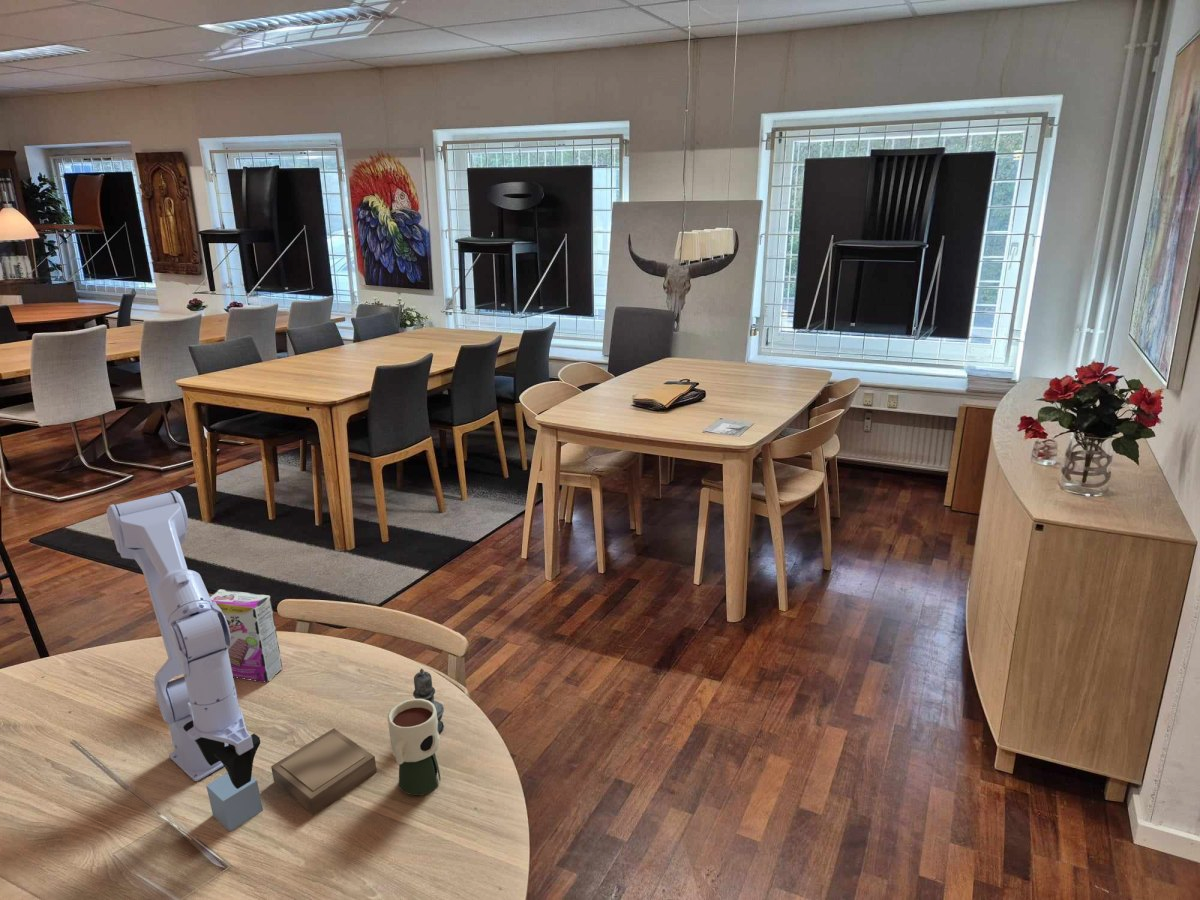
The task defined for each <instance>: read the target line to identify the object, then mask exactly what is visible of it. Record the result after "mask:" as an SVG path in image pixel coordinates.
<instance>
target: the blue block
mask: <svg viewBox="0 0 1200 900" xmlns="http://www.w3.org/2000/svg"><path fill="white" fill-rule="evenodd" d="M205 787H206V791H207V795H208V799H209V804H210V809H211V813H212V816H213V817H214V818H215V819H216V820H217V821H218V822H219V823H220V824H221V825H222V826H223V827H224V828H225V829H226V830H227V831H228V832H232V831H234V830H235V829H236V828H238V827H240V826H241V825H242V824H244V823H246V822H247V821H249V820H250V819H252V818H254V817H255V816H257V815H258V814H259V813H261V812H262V811H264V808H263V803H262V799H261V793H260V789H259V788H260V787H259V784H258V780H257V779H256V778H255V777H254V776H253V775H252V776H251V781H250V782H248V783H247V784H245V785H244V786H242V787H240V788H239V789H237V788H235V787H234V785H233V784H232V782H231V780H230V777H229V775H228V772H227V773H225V774H224V775H222V776H220V777H217V779H215V780H213V781H211V782H209V783H208V784H207V785H205Z"/></svg>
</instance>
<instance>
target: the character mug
mask: <svg viewBox="0 0 1200 900" xmlns="http://www.w3.org/2000/svg"><path fill="white" fill-rule="evenodd" d="M387 722H388V732H389V738H390V739H389V740H390V746H391V748H390V749H391V753H392V755H393V757H395V761H396V764H397V765H399V766H398V788H399V789H400V790H401V791H402V792H404V793H406V794H408V795H411V796H413V795H414V796H423V795H425V794H429V793H431V792H432V791H433V790H435V789H436V788H437V786H438V782H437V777H438V779H439V782H441V771H440V767H439V763H438V760H437V757H436V756H437V755H436V752H437V751H438V750H439V745H440V742H441V741H440V740H441V738H440V734H439V733H438V730H437V728H438V719H437V712H436V708H435V705H434V704H433V703H431V702H430V701H428V700H425V699H415V698H411V699H408V700H403V701H402V702H399V703H398V704H396V705H395V706H394V707H392V708H391V709H390V710H389V713H388V715H387Z"/></svg>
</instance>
